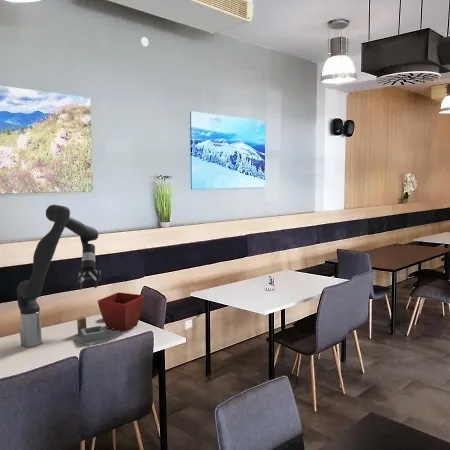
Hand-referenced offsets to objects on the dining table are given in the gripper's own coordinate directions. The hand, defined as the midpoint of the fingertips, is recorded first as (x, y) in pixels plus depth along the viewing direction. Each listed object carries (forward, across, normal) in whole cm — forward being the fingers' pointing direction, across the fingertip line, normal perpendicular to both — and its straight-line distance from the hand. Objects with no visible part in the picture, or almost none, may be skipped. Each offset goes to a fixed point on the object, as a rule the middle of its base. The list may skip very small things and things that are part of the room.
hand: (87, 288), depth 255 cm
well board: (+29, +7, -4) cm, 30 cm away
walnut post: (+25, -3, +1) cm, 25 cm away
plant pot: (+21, +16, +12) cm, 29 cm away
